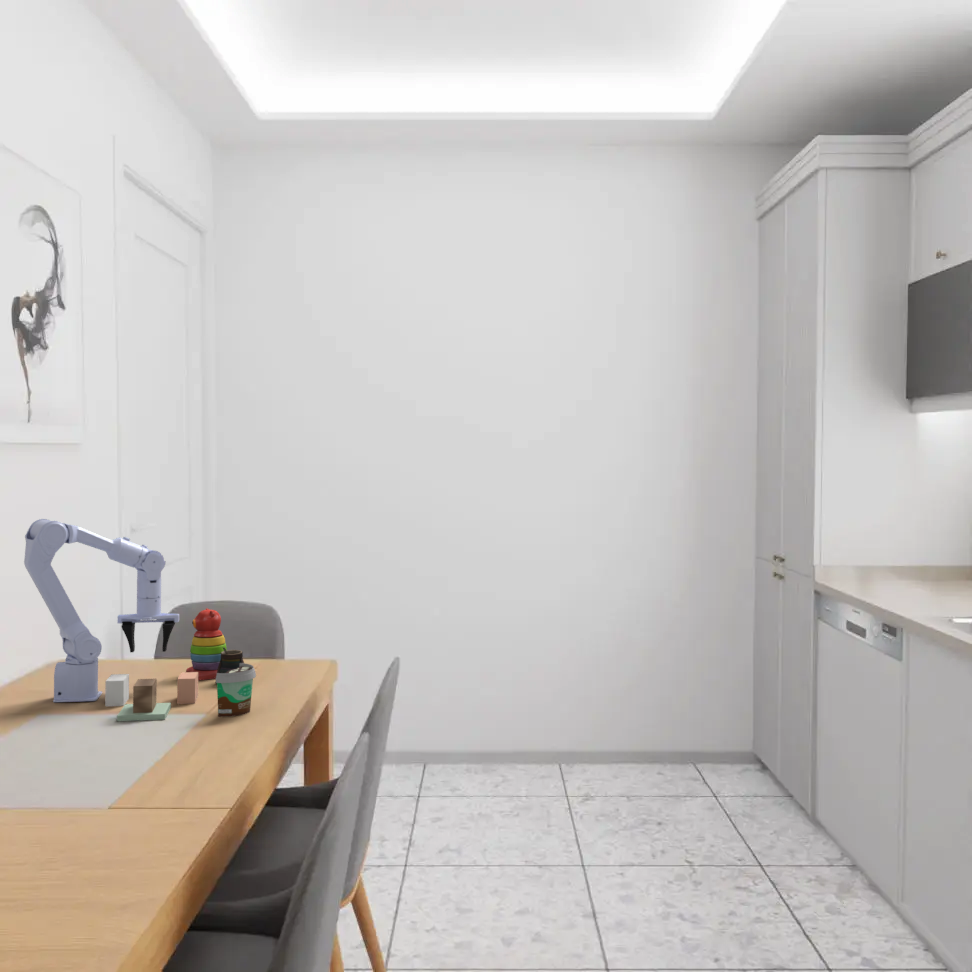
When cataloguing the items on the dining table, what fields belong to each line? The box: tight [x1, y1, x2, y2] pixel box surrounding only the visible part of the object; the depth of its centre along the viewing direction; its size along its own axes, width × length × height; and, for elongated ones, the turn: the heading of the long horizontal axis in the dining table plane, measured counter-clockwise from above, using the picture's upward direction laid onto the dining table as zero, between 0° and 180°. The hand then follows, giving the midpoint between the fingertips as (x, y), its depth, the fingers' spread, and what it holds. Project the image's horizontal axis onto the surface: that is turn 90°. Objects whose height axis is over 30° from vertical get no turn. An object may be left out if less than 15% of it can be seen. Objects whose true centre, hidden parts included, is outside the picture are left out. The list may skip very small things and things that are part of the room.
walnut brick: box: [132, 678, 158, 713], centre depth 209 cm, size 4×7×6 cm, turn 12°
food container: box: [215, 662, 257, 718], centre depth 212 cm, size 12×6×10 cm, turn 168°
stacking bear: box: [185, 607, 228, 682], centre depth 248 cm, size 11×10×18 cm
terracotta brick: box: [176, 671, 199, 705], centre depth 223 cm, size 4×7×6 cm, turn 11°
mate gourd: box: [217, 647, 245, 673], centre depth 241 cm, size 7×8×10 cm
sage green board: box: [116, 702, 172, 722], centre depth 209 cm, size 10×10×1 cm
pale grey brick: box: [104, 673, 130, 707], centre depth 219 cm, size 4×7×6 cm, turn 11°
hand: (148, 651), depth 233 cm, fingers open, 7 cm apart
